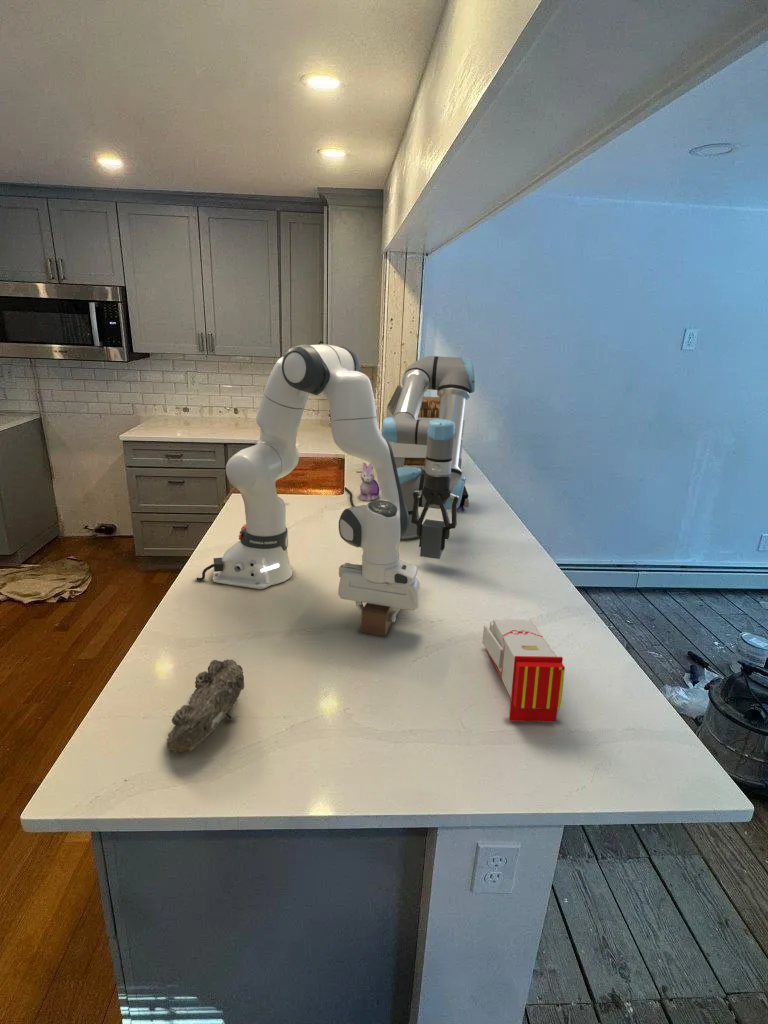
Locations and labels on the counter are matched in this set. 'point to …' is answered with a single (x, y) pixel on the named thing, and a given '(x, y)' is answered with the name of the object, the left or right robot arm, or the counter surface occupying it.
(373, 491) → the figurine
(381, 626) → the walnut beam
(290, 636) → the counter surface
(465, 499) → the figurine character
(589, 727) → the counter surface
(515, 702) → the toy
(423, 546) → the cap block
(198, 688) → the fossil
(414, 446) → the white boxy piece
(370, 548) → the left robot arm
